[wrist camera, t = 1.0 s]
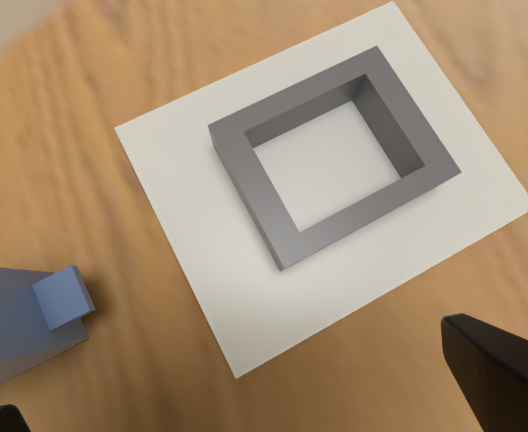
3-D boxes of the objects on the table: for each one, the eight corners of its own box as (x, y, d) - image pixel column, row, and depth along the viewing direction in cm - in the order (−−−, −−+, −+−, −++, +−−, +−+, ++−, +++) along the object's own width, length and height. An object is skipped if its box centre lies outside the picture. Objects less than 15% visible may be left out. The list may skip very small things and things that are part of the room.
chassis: (387, 12, 25) (411, -37, 21) (524, 210, 22) (578, 194, 18) (120, 135, 23) (93, 103, 19) (236, 374, 20) (232, 393, 16)
